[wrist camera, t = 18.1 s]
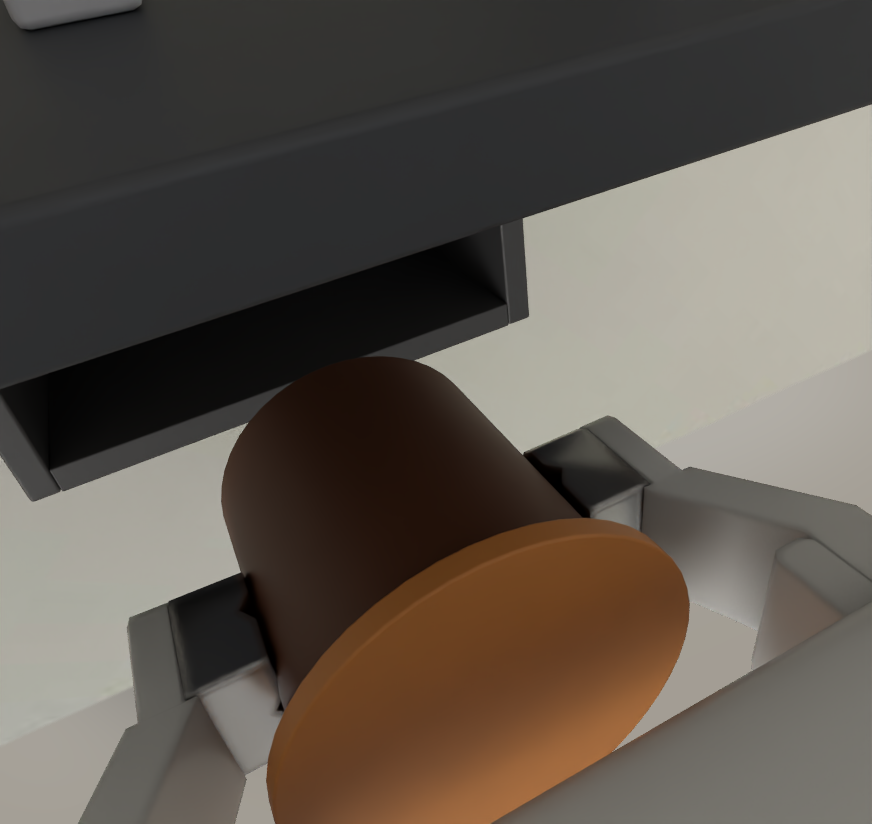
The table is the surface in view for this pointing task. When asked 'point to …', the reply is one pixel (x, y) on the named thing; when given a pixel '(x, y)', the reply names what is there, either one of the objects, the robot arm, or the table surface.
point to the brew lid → (351, 137)
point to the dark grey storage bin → (253, 360)
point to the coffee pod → (434, 604)
